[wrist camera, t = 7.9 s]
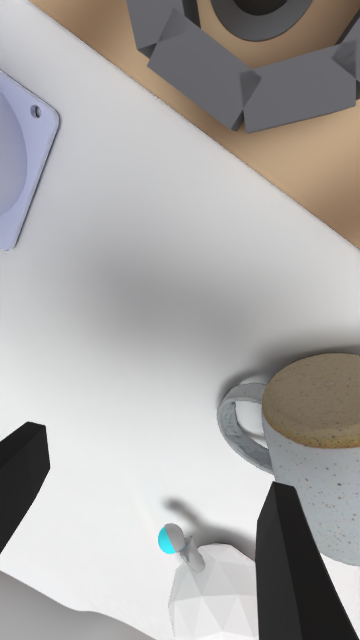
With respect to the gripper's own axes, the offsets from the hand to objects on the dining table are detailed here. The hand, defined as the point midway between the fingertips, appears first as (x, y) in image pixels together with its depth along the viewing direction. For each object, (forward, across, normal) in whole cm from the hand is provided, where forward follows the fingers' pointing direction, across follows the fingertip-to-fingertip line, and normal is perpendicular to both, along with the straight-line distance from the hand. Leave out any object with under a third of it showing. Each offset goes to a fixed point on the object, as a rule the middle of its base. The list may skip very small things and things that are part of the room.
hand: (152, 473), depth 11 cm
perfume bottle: (+10, -4, +21) cm, 24 cm away
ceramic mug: (+10, -7, +4) cm, 14 cm away
